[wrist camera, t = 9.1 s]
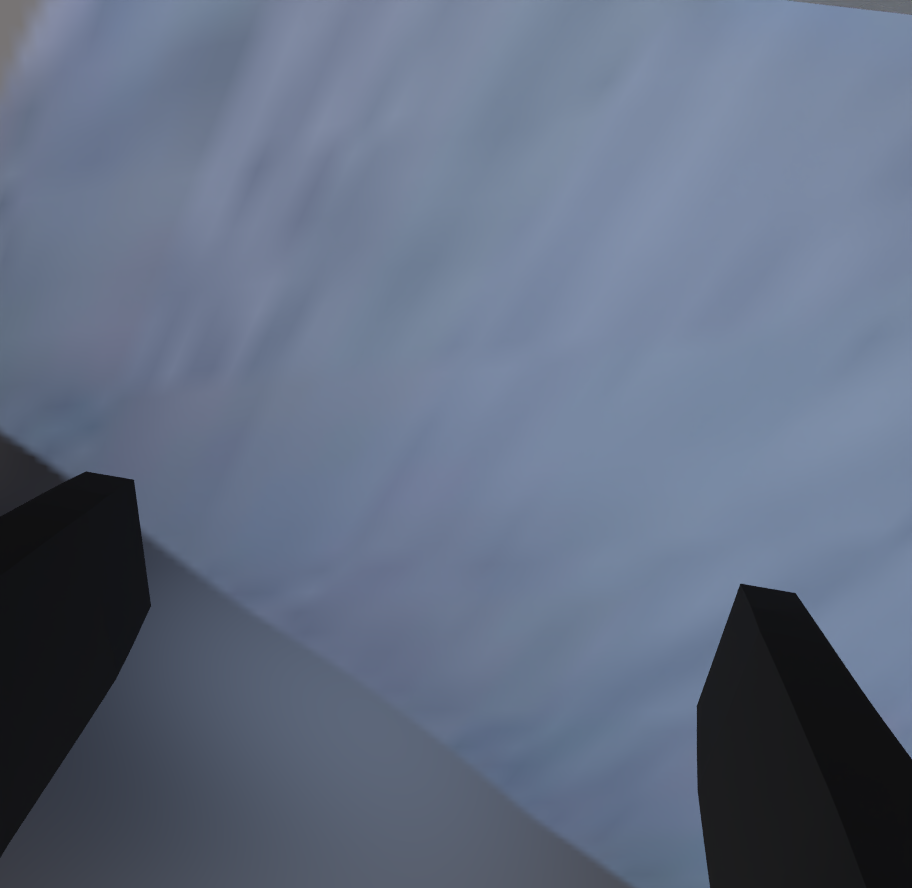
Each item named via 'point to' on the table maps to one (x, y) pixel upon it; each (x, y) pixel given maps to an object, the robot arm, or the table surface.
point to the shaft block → (869, 4)
